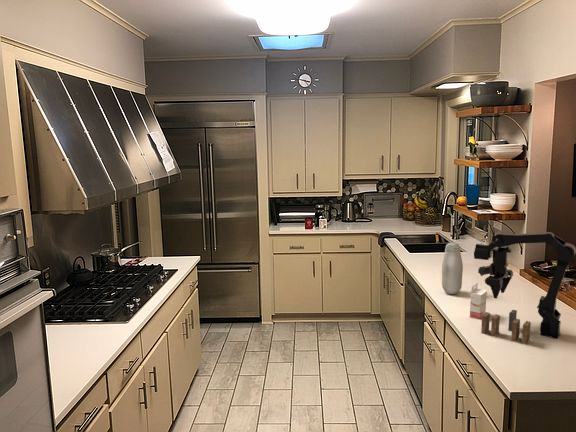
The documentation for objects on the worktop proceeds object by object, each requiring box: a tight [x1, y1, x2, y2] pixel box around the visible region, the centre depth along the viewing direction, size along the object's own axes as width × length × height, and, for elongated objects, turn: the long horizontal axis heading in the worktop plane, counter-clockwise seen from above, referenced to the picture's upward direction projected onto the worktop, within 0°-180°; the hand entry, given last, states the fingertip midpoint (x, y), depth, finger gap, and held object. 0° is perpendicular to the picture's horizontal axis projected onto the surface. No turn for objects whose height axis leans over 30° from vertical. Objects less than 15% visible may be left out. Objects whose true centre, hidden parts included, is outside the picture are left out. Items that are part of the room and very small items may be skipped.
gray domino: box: [507, 309, 518, 332], centre depth 200 cm, size 2×5×8 cm, turn 139°
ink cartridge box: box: [469, 282, 488, 320], centre depth 215 cm, size 9×5×15 cm, turn 141°
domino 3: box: [510, 318, 521, 343], centre depth 190 cm, size 2×5×8 cm, turn 139°
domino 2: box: [490, 313, 501, 338], centre depth 195 cm, size 2×5×8 cm, turn 139°
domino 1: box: [480, 311, 491, 335], centre depth 197 cm, size 2×5×8 cm, turn 139°
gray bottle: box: [441, 241, 464, 295], centre depth 246 cm, size 10×10×28 cm
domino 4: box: [521, 320, 532, 345], centre depth 187 cm, size 2×5×8 cm, turn 139°
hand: (498, 295), depth 204 cm, fingers open, 9 cm apart
